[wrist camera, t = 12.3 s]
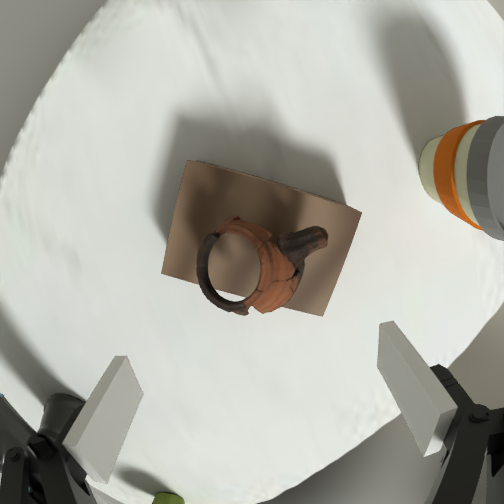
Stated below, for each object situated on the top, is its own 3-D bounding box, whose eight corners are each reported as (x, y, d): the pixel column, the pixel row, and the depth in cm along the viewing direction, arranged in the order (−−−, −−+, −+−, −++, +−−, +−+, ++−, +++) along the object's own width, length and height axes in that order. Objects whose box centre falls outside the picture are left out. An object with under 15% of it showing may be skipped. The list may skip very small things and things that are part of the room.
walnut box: (174, 256, 37) (161, 273, 31) (198, 160, 34) (187, 160, 28) (313, 294, 38) (322, 316, 33) (345, 204, 35) (362, 212, 29)
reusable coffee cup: (477, 213, 34) (551, 240, 20) (408, 220, 35) (482, 254, 21) (474, 126, 31) (551, 123, 17) (402, 121, 32) (478, 106, 17)
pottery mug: (258, 318, 33) (216, 339, 26) (221, 244, 35) (172, 245, 28) (355, 266, 28) (337, 275, 21) (307, 184, 30) (274, 166, 23)
